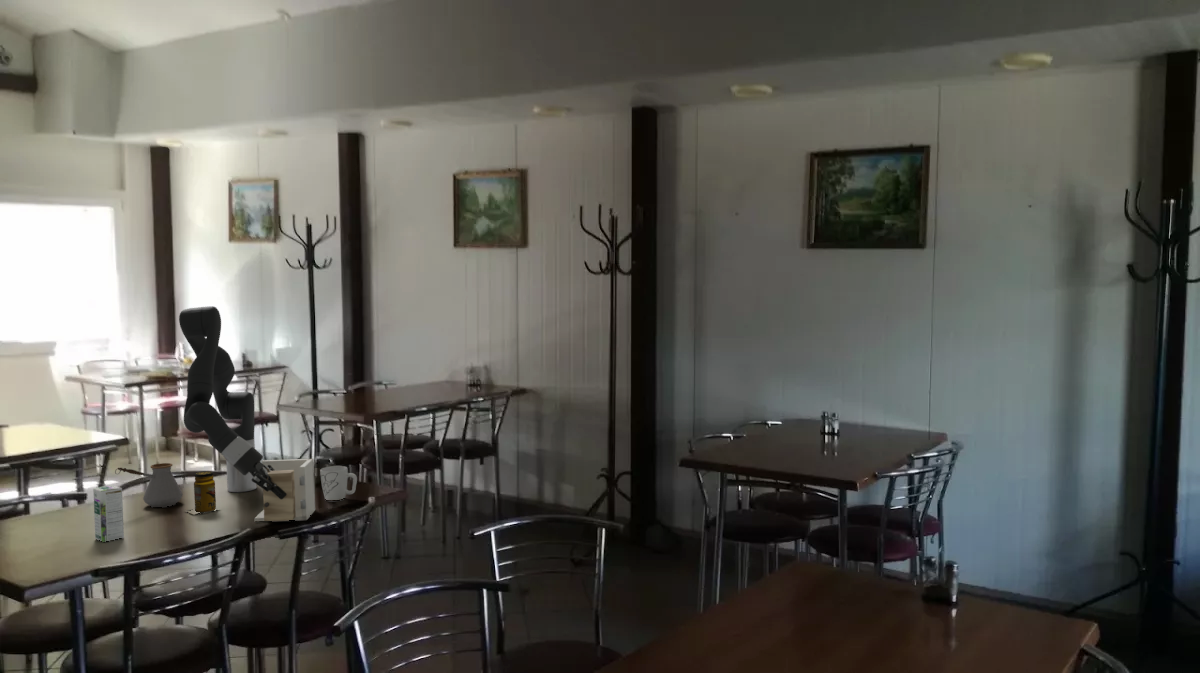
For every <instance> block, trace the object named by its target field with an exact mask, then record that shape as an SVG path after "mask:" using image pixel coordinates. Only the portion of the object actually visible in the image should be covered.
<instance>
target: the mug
mask: <svg viewBox="0 0 1200 673" xmlns="http://www.w3.org/2000/svg"><path fill="white" fill-rule="evenodd" d="M319 471H320V472H319V473H320V474H319V475H320V481H321V488H322V492H323V498H324V500H325V499H326V500H339V499H343V498H346V495H353V494H354V493H355V492H356V488H357V483H358V482H357V481H358V477H357V475H356V474H355V473H353V472H349V470H348V467H347V466H344V465H333V466H326V467H322V468H321V469H319ZM349 478H352V485H351V488H352V489H351V490H348V479H349ZM326 500H325V501H326ZM343 500H344V499H343Z"/></svg>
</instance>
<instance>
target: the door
mask: <svg viewBox="0 0 1200 673" xmlns="http://www.w3.org/2000/svg"><path fill="white" fill-rule="evenodd" d="M267 472H268V471H267ZM268 474H269V475H270V476H271V477H272V480H273V481H274V482H275V483H276V484H277V486H279V487H280V488H281V489H282V490H283V491H284V492H285V493H286V494H287V495H286V496H285V497H284V498H283V499H280V498H279V497H277V496H276V495H275V494H274V493H273V492H272V491H271V492H270V491H268V492H267V491H266V490H264V489H263V488H262V495H263V497H262V498H263V510H264V521H272V522H290V521H289V520H293V519H294V518H295V517H296V511H295V483H294V470H280V471H269V472H268ZM267 480H268V477H267ZM268 485H269V484H268Z"/></svg>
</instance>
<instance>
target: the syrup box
mask: <svg viewBox="0 0 1200 673" xmlns="http://www.w3.org/2000/svg"><path fill="white" fill-rule="evenodd" d="M123 502H124V501H123V488H122V487H119V486H115V485H104V486H99V487H95V488H93V515H94V516H93V518H94V519H93V520H94V537H95V538H94V539H95V540H96V539H97V540H96V541H99V540H100V541H99V542H101V541H102V543H103V542H105V543H107V542H106V541H109V542H111V541H110V540H114V541H116V540H115V539H118V540H120V539H119V538H122V539H124V538H125V535H124V534H125V533H124V528H125V527H124V508H123Z"/></svg>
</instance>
